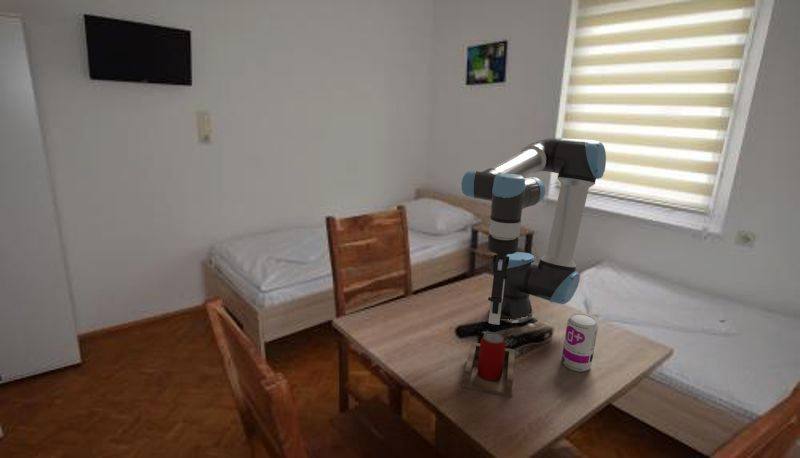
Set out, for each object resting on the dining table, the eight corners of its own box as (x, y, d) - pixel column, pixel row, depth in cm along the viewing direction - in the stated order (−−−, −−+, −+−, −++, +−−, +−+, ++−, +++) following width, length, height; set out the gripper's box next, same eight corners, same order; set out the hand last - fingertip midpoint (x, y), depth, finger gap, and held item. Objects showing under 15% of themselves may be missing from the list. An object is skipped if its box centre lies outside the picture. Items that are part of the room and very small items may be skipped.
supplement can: (577, 375, 123) (585, 328, 119) (555, 360, 130) (562, 315, 125) (596, 368, 126) (605, 322, 122) (574, 354, 133) (581, 310, 129)
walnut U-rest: (469, 357, 130) (470, 341, 129) (513, 365, 127) (515, 349, 125) (462, 386, 116) (463, 370, 115) (511, 397, 113) (513, 380, 111)
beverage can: (501, 370, 123) (506, 332, 120) (501, 384, 117) (506, 345, 113) (477, 366, 124) (481, 329, 121) (476, 380, 118) (480, 341, 114)
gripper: (492, 221, 121) (486, 290, 127) (483, 249, 98) (476, 331, 104) (519, 224, 119) (512, 294, 125) (517, 253, 96) (508, 337, 102)
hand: (495, 311), depth 115 cm, fingers open, 13 cm apart
